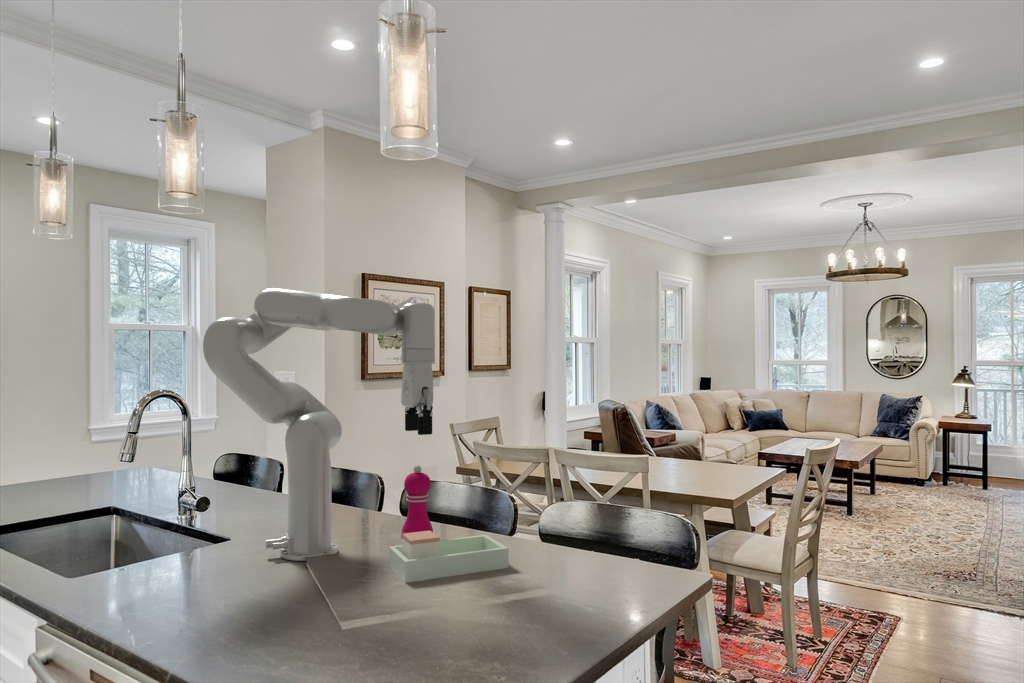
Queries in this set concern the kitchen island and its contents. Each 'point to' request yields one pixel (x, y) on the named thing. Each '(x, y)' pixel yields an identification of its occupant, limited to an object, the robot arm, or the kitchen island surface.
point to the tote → (451, 559)
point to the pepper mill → (417, 502)
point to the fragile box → (420, 545)
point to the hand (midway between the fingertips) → (418, 432)
